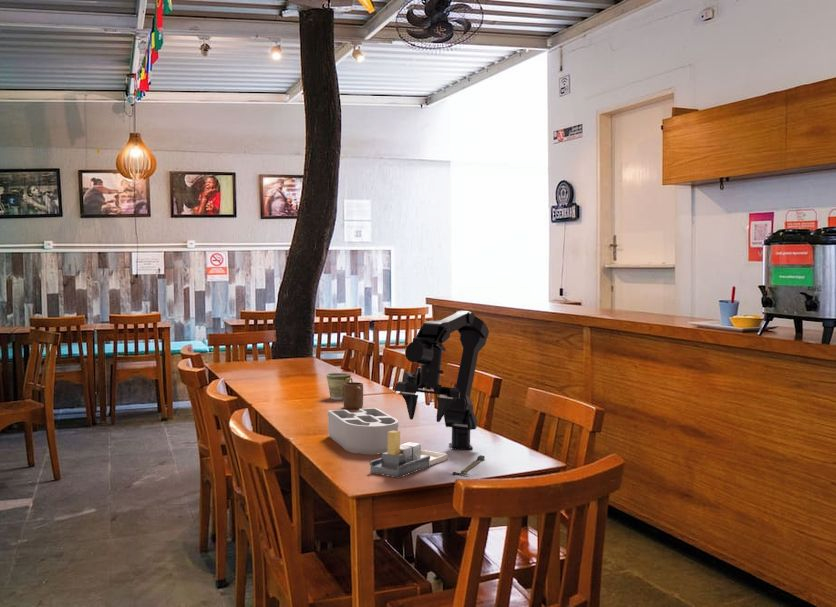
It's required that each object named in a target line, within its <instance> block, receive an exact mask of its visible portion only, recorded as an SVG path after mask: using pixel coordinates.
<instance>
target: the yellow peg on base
mask: <svg viewBox="0 0 836 607" xmlns="http://www.w3.org/2000/svg"><path fill="white" fill-rule="evenodd" d="M400 445H401V431H399V430H398V431H394V430H392V431H389V432H388V449H387V452H385V453H382V454H381V458H382V465H388V466H393V467H397V466H400V465H403V464H405V454H401V453H400Z"/></svg>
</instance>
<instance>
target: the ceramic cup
mask: <svg viewBox="0 0 836 607" xmlns="http://www.w3.org/2000/svg"><path fill="white" fill-rule="evenodd" d="M326 381H327V384H328V390H329V391H328V392H329V396H330V399H331V400H335V401H342V400H343V401H344V383H348V382H354V381H353V379H352V377H351V373H347V372H345V373H344V372H331V373H326Z"/></svg>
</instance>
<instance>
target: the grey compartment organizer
mask: <svg viewBox="0 0 836 607" xmlns="http://www.w3.org/2000/svg"><path fill="white" fill-rule="evenodd" d="M327 417H328V418H327V419H328V420H327V422H328V423H327V424H328V425H327V426H328V427H327V428H328V429H327V431H328V432H327V433H328V437H329V438H330V439H331V440H333V441H334V442H335V443H337V445H339V446H340V447H342V448H343V449H344V450H345V451H347V452H349V453H352V454H358V453H361V454H360V455H378V454H377V453H385V452H387V449H388V432H389V431H392V430H394V431H399V430H398V429H399V420H398V419H397V418H395V417H394V416H391V415H390V414H388V413H386V412H385V411H383V410H381V409H379V408H377V407H369V408H367V407H366V408H360V409H358V412H350V410H348V409H336V410H335V409H332V410H330V409H329V410H327Z"/></svg>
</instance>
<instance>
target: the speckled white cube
mask: <svg viewBox="0 0 836 607" xmlns="http://www.w3.org/2000/svg"><path fill="white" fill-rule="evenodd" d="M401 445H403V446H409V447H412V461H414V460H417V459H419V458H421V450H422V444H421V443H418V442H417V443H416V442H410V441H408V442H406V443H405V442H404V443H403V444H401Z"/></svg>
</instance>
